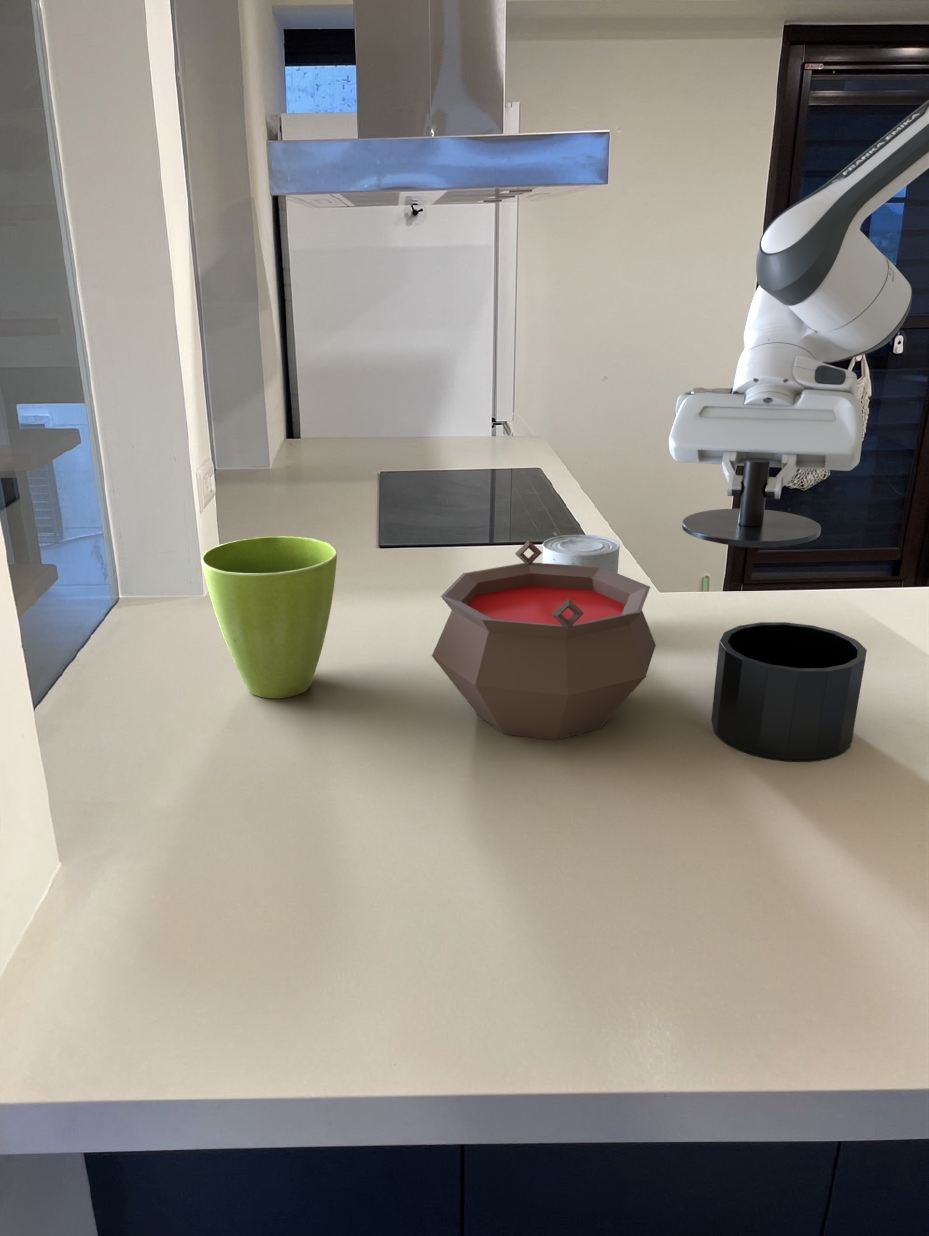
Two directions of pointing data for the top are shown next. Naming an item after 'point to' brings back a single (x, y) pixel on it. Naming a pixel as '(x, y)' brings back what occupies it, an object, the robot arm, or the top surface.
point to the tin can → (582, 551)
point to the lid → (752, 517)
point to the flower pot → (273, 608)
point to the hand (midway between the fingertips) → (753, 494)
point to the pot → (787, 690)
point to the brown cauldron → (545, 645)
